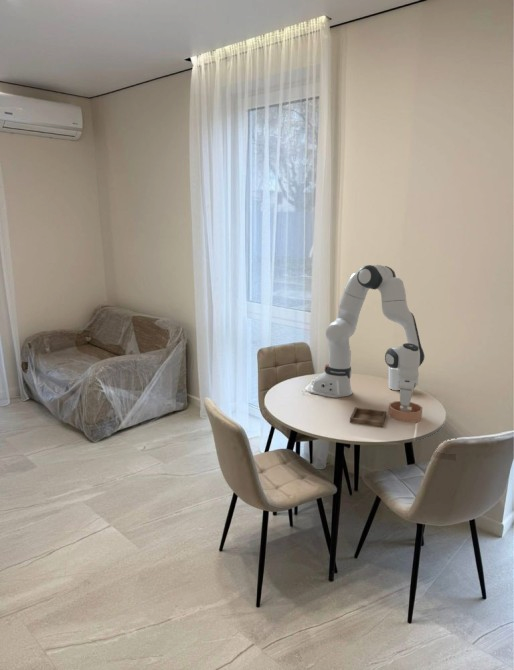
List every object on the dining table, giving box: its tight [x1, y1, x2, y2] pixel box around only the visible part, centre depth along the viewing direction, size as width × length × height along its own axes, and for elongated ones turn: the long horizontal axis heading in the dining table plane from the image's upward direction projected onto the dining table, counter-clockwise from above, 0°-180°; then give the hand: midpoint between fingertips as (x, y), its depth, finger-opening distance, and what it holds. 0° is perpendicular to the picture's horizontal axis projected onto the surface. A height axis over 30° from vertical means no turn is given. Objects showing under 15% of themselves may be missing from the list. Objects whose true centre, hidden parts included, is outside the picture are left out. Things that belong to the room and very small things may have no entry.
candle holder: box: [388, 366, 400, 391], centre depth 261 cm, size 10×10×12 cm
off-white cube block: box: [400, 406, 412, 412], centre depth 223 cm, size 5×4×4 cm
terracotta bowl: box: [387, 400, 423, 424], centre depth 223 cm, size 15×15×5 cm
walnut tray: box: [349, 407, 387, 428], centre depth 218 cm, size 14×14×3 cm
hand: (405, 408), depth 223 cm, fingers open, 5 cm apart
